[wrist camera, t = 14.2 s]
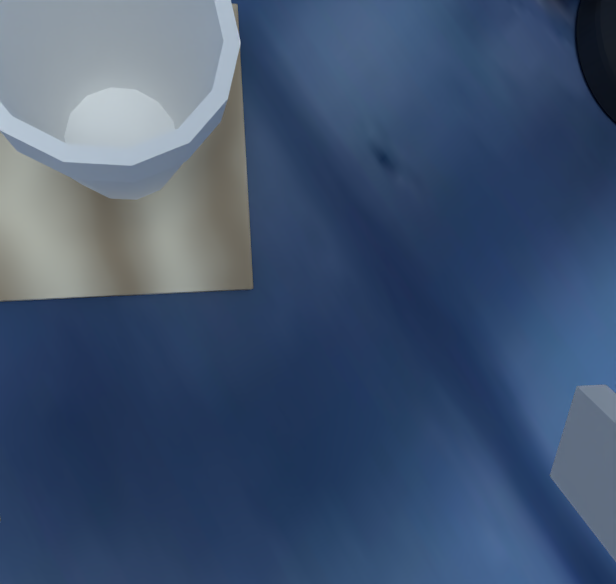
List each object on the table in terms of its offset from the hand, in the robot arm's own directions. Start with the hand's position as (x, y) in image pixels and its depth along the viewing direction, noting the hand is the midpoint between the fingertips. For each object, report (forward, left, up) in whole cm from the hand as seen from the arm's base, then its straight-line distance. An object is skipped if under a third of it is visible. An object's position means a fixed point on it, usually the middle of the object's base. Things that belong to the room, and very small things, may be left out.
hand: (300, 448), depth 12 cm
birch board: (+5, -13, -21) cm, 25 cm away
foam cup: (+4, -13, -20) cm, 24 cm away
